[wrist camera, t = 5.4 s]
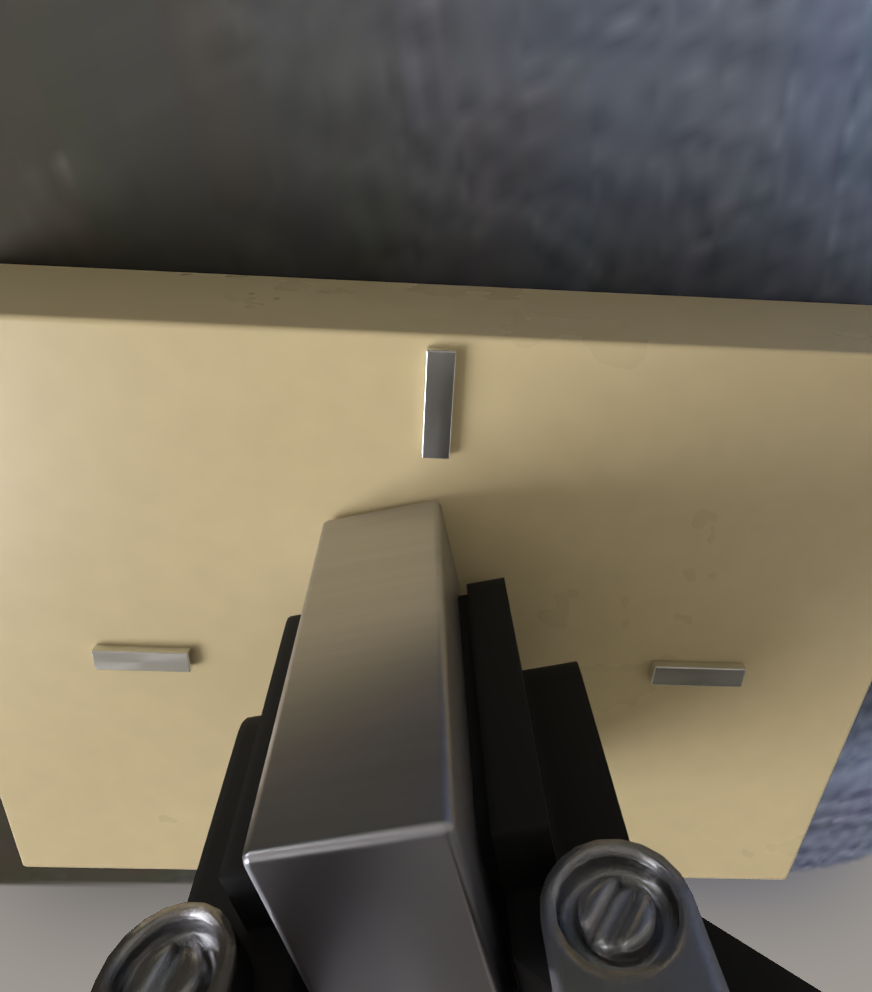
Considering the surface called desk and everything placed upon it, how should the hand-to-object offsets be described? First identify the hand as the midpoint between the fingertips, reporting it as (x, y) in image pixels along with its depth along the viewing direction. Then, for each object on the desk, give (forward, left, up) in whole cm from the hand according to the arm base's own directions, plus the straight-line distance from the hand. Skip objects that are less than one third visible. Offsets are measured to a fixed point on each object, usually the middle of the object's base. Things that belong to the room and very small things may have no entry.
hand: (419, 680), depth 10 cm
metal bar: (0, 0, 0) cm, 0 cm away
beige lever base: (0, 0, -4) cm, 4 cm away
